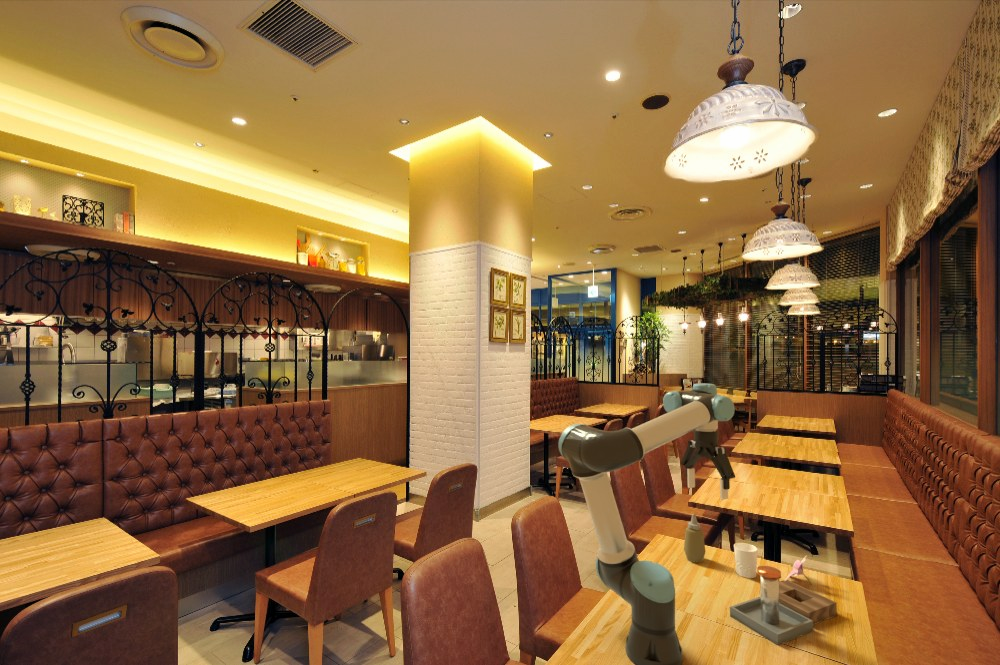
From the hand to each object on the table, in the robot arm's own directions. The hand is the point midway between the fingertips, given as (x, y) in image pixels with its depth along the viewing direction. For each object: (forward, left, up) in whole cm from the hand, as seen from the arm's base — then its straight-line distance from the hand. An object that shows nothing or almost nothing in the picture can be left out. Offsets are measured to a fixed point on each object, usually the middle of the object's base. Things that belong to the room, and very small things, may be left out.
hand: (707, 493), depth 158 cm
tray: (+8, -16, -37) cm, 41 cm away
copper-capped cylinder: (+8, -16, -36) cm, 40 cm away
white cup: (+29, +9, -37) cm, 48 cm away
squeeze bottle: (+21, +26, -37) cm, 50 cm away
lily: (+41, -3, -37) cm, 55 cm away
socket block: (+24, -14, -37) cm, 46 cm away
